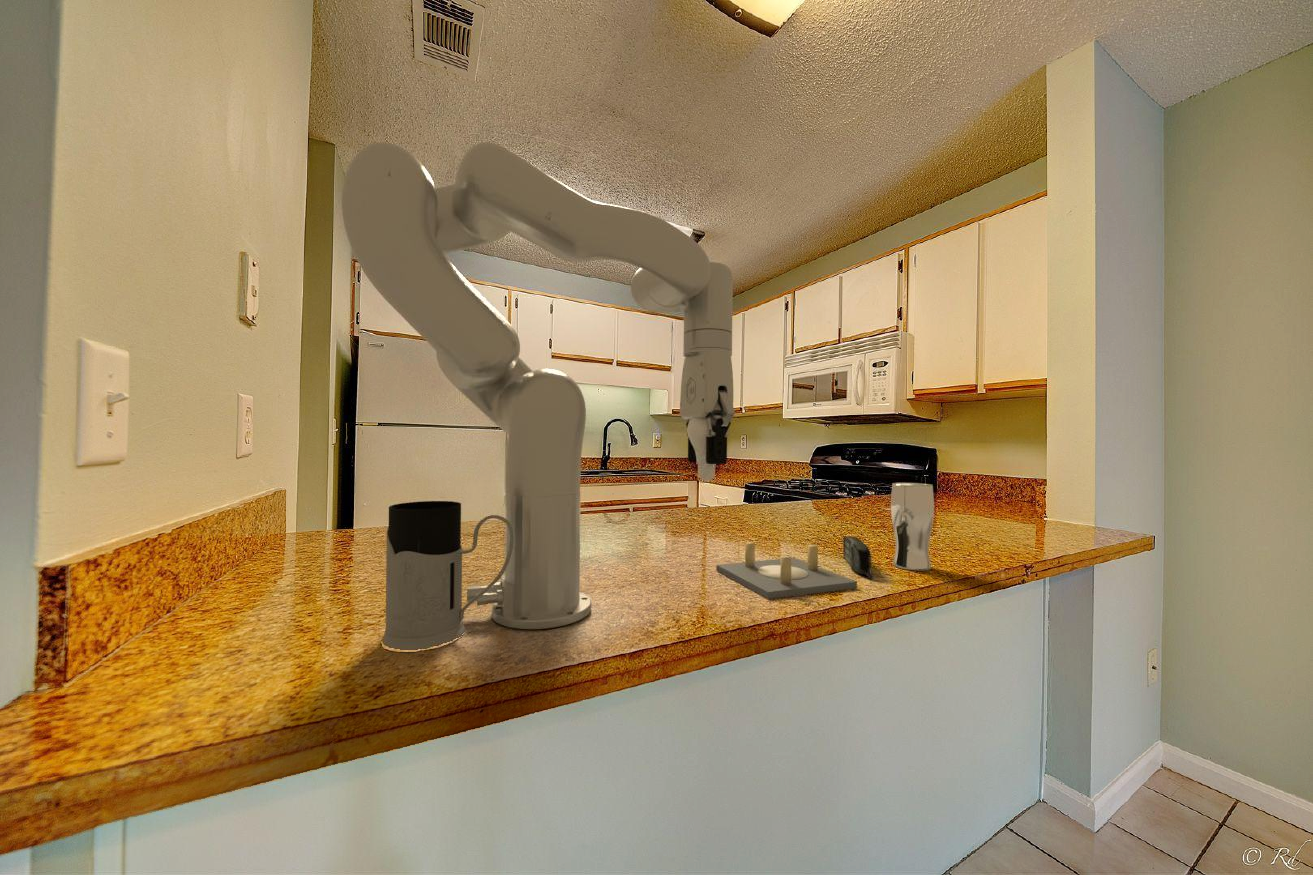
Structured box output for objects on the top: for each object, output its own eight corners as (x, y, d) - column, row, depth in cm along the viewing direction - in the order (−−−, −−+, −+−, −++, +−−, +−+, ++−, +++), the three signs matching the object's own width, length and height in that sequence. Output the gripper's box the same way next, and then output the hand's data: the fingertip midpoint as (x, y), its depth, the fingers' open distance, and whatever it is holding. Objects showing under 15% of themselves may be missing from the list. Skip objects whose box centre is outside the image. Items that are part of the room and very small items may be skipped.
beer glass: (882, 564, 89) (882, 483, 89) (907, 560, 92) (908, 482, 92) (916, 573, 83) (916, 486, 83) (942, 569, 86) (943, 485, 86)
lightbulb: (728, 483, 71) (729, 409, 71) (687, 483, 71) (688, 409, 71) (723, 480, 77) (724, 412, 77) (686, 479, 77) (686, 411, 78)
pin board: (767, 598, 69) (768, 564, 69) (716, 570, 84) (716, 541, 84) (856, 588, 74) (857, 555, 74) (793, 563, 89) (793, 536, 89)
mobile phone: (840, 534, 94) (858, 548, 79) (857, 534, 94) (877, 549, 79) (840, 559, 94) (858, 579, 79) (857, 560, 93) (878, 580, 79)
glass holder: (401, 622, 59) (402, 500, 59) (519, 619, 60) (520, 499, 60) (364, 654, 50) (366, 510, 50) (504, 649, 52) (505, 509, 52)
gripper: (665, 354, 81) (664, 460, 81) (710, 332, 65) (709, 465, 65) (705, 357, 84) (704, 460, 84) (758, 337, 68) (757, 465, 68)
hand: (706, 461), depth 74 cm, fingers closed on lightbulb, 5 cm apart
